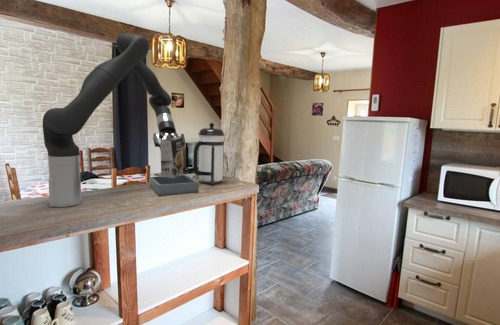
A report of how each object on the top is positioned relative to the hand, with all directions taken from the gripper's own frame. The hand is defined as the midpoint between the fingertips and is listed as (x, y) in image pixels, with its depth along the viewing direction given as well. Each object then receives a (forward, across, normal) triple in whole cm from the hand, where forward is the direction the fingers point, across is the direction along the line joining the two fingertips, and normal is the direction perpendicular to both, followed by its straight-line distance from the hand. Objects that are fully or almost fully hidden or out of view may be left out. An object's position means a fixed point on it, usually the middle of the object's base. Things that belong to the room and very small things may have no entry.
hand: (172, 152), depth 129 cm
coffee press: (+8, +20, +15) cm, 26 cm away
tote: (+13, 0, +10) cm, 16 cm away
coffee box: (+8, 0, +6) cm, 10 cm away
